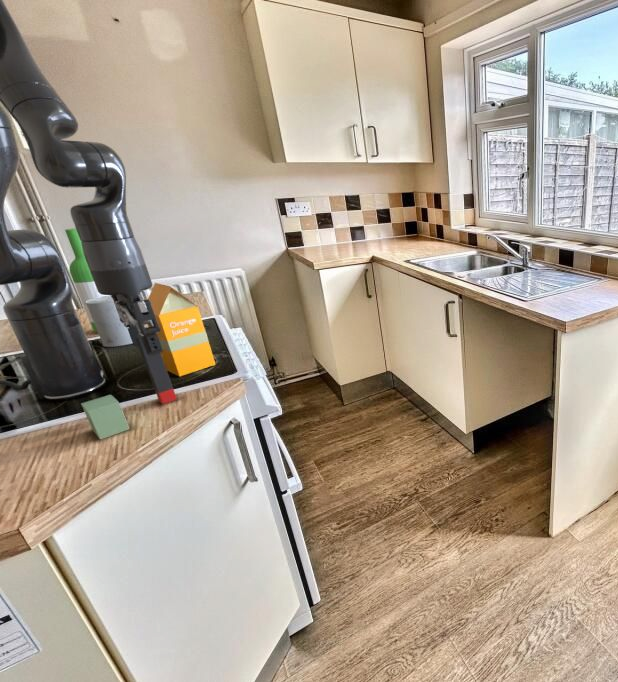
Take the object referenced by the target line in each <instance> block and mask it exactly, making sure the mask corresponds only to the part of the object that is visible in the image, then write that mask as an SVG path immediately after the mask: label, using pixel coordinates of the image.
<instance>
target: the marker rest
mask: <svg viewBox="0 0 618 682" xmlns="http://www.w3.org/2000/svg"><path fill="white" fill-rule="evenodd" d="M80 405H81V408H82V409H83V412H84V414H85V417H86V419H87V421H88V423H89V425H90V427H91V430H92V431H93V432H94V434H95V435H96V436H97V438H98V439H99V440H103V439H107V438H109V437H112V436H115V435H117V434H120V433H122V432H126V431H128V430H130V429H131V428H130V426H129V423H128V421H127V419H126V416H125V414H124V411H123V408H122V406H121V404H120V402H119V401H118V400H117V398H115V397H114V396H113V395H112V394H108V395H105V396H101V397H98V398H94V399H91V400H88V401H85V402H82V403H80Z"/></svg>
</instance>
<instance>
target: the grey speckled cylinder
mask: <svg viewBox="0 0 618 682" xmlns="http://www.w3.org/2000/svg"><path fill="white" fill-rule="evenodd" d="M85 303H86V304H87V306H88V309H89V311H90V314H91V316H92V319H93V321H94V324H95V326H96V329H97V331H98V332H97V333H98V337H99V338H100V341H101V343H102V346H103V347H105V348H106V347H107V348H113V347H122V346H127V345H132V344H133V342H132V340H131V337H130V334H129V332H128V329H127V328H129V327H127V328H126V327H125V326H124V323H122V322H121V321H120V317H119V315H118V312H117V309H116V306H115V304H114V301H113V298H112V297H111V295H109V296H103V297H98V298H94V299H90V300H88V301H86V302H85Z"/></svg>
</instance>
